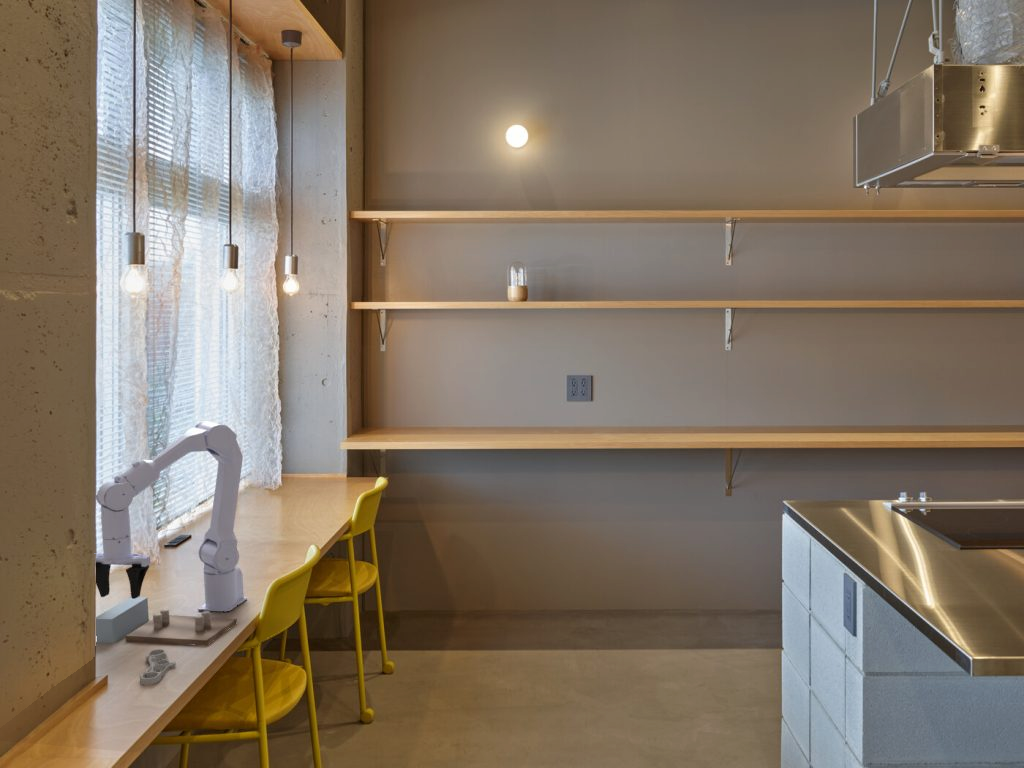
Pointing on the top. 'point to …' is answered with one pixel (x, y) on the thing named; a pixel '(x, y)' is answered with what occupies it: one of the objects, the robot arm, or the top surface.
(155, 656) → the bracket
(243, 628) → the top surface
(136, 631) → the peg stand
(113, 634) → the pale blue rectangular block
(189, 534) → the top surface
